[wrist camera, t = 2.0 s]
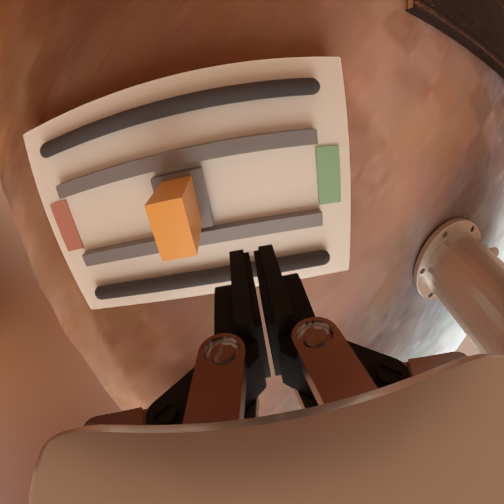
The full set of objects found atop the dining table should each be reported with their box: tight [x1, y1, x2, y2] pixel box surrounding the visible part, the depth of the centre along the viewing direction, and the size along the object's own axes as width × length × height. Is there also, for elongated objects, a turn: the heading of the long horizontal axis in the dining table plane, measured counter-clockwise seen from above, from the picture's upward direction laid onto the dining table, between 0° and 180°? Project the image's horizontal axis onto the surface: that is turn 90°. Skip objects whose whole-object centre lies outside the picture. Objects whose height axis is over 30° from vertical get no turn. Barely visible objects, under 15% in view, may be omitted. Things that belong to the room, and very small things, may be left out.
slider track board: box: [23, 57, 351, 309], centre depth 23 cm, size 28×20×4 cm
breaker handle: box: [144, 166, 214, 262], centre depth 20 cm, size 4×5×6 cm
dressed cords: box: [40, 78, 330, 300], centre depth 22 cm, size 23×16×1 cm
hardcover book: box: [406, 0, 504, 78], centre depth 14 cm, size 16×23×2 cm
